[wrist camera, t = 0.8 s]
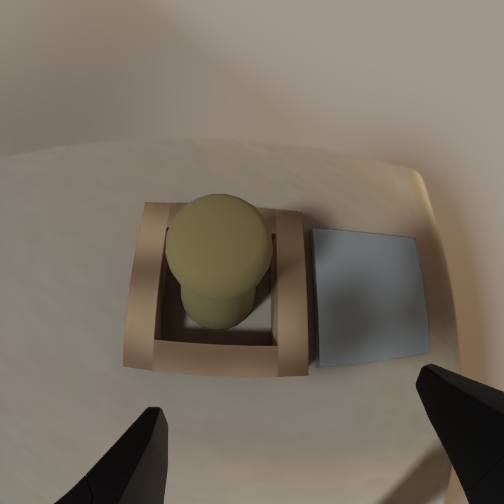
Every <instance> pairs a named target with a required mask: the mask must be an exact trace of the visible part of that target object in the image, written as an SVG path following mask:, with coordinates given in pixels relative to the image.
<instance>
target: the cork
mask: <svg viewBox="0 0 504 504" xmlns="http://www.w3.org/2000/svg"><path fill="white" fill-rule="evenodd" d="M165 254H166V257H167V261H168V264H169V268H170V270H171V272H172V273H173V275H174V276H175V278H176V279H177V280H178V282H179V283H180V284H181V301H182V304H183V307H184V310H185V311H186V313H187V314H188V315H189V317H190V318H191V319H192V320H193V321H195V322H196V323H198V324H199V325H200V326H202V327H206V328H209V329H212V330H224V329H228V328H231V327H234V326H236V325H238V324H239V323H241V322H242V321H243V320H244V319H246V318H247V316H248V314H249V313H250V311H251V310H252V308H253V305H254V301H255V293H256V285H258V284H259V282H260V281H261V279H262V278H263V276H264V275H265V273H266V272H267V270H268V268H269V266H270V262H271V258H272V254H273V245H272V236H271V230H270V228H269V226H268V224H267V222H266V220H265V218H264V217H263V215H262V214H261V213H260V212H259V211H258V210H257V209H256V208H255V207H254V206H253V205H251V204H249V203H248V202H246V201H244V200H243V199H241V198H238V197H235V196H231V195H227V194H211V195H207V196H204V197H200V198H197V199H196V200H194V201H192V202H191V203H189V204H187V205H186V206H184V207H183V208H182V209H181V210H180V211H179V212H178V214H177V215H176V216H175V217H174V218H173V220H172V222H171V225H170V227H169V229H168V232H167V236H166V249H165Z"/></svg>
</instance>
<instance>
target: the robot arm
mask: <svg viewBox="0 0 504 504" xmlns="http://www.w3.org/2000/svg"><path fill="white" fill-rule="evenodd" d="M416 389H417V391H418V394H419V396H420V398H421V401H422V403H423V405H424V408H425V410H426V413H427V415H428V418H429V420H430V422H431V424H432V425H433V427H434V429H435V431H436V433H437V435H438V437H439V439H440V441H441V443H442V445H443V447H444V449H445V451H446V453H447V455H448V457H449V459H450V461H451V463H452V465H453V467H454V470H455V472H456V474H457V476H458V478H459V481H460V483H461V485H462V487H463V490H464V492H465V495H466V497H467V500H468V502H469V504H504V392H503V391H500V390H497V389H495V388H492V387H490V386H487V385H484V384H482V383H479V382H477V381H474V380H472V379H469V378H467V377H464V376H461V375H459V374H456V373H454V372H451V371H449V370H447V369H444V368H442V367H439V366H437V365H434V364H428V365H426V366H423V367H422V368H421V371H420V373H419V376H418V378H417V381H416ZM167 470H168V424H167V421H166V418H165V416H164V413H163V411H162V409H161V408H160V407H148V408H147V409H146V410H145V411H144V412H143V413H142V414H141V415H140V416H139V417H138V419H137V420H136V421H135V422H134V423H133V424H132V425H131V426H130V427H129V429H128V430H127V431H126V432H125V433H124V434H123V435H122V436H121V437H120V438H119V440H118V441H117V442H116V443H115V444H114V445H113V446H112V447H111V448H110V449H109V450H108V451H107V453H106V454H105V455H104V456H103V457H102V458H101V459H100V460H99V461H98V462H97V463H96V464H95V465H94V466H93V468H92V469H91V470H90V471H89V472H88V473H87V474H86V476H84V477H83V478H82V479H81V480H80V481H79V482H78V483H77V484H76V485H75V486H74V487H73V488H72V489H71V490H70V491H69V492H68V493H66V494H65V495H64V496H63V497H62V498H60V499H59V500H58V501H57V502H55V503H54V504H164V495H165V486H166V478H167Z"/></svg>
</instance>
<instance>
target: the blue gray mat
mask: <svg viewBox="0 0 504 504" xmlns="http://www.w3.org/2000/svg"><path fill="white" fill-rule="evenodd" d="M310 239H311V252H312V266H313V282H314V302H315V329H316V367H328V366H340V365H350V364H360V363H368V362H376V361H383V360H390V359H396V358H402V357H408V356H413V355H419V354H424V353H429V352H430V338H429V325H428V315H427V306H426V298H425V291H424V284H423V278H422V272H421V266H420V261H419V256H418V251H417V246H416V242H415V238H407V237H398V236H390V235H380V234H371V233H361V232H351V231H341V230H330V229H319V228H312V230H311V231H310Z"/></svg>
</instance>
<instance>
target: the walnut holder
mask: <svg viewBox="0 0 504 504" xmlns="http://www.w3.org/2000/svg"><path fill="white" fill-rule="evenodd" d="M186 205H187V204H182V203H157V202H145V206H144V211H143V215H142V220H141V225H140V230H139V235H138V240H137V245H136V251H135V257H134V263H133V269H132V275H131V282H130V290H129V297H128V306H127V315H126V325H125V337H124V352H123V366H125V367H131V368H138V369H145V370H152V371H161V372H170V373H180V374H192V375H207V376H229V377H284V376H306V375H308V316H307V290H306V270H305V253H304V238H303V224H302V212H297V211H286V210H275V209H263V208H256V209H257V210H258V211H259V212H260V213H261V214H262V215H263V217H264V218H265V220H266V222H267V224H268V226H269V228H270V230H271V236H272V245H273V254H272V258H271V346H241V345H216V344H199V343H185V342H174V341H163V340H161V332H162V318H163V306H164V296H165V286H166V277H167V268H168V261H167V257H166V254H165V249H166V236H167V232H168V229H169V227H170V225H171V222H172V220H173V218H174V217H175V216H176V215H177V214H178V212H179V211H180V210H181V209H182V208H183V207H184V206H186Z"/></svg>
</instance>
